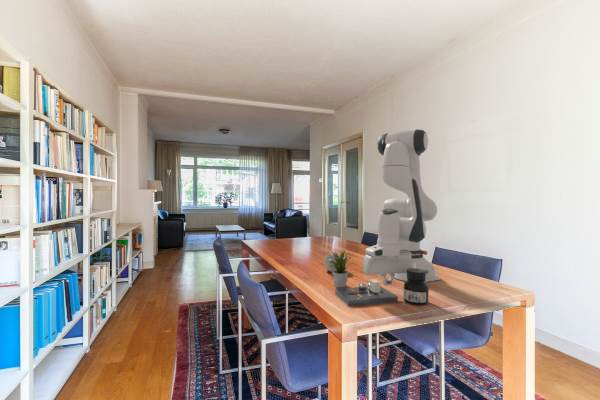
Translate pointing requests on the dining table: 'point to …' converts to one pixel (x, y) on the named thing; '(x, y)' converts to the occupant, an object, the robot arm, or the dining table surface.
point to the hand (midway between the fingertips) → (387, 284)
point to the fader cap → (374, 286)
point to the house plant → (339, 269)
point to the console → (365, 295)
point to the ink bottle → (416, 287)
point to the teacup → (328, 258)
